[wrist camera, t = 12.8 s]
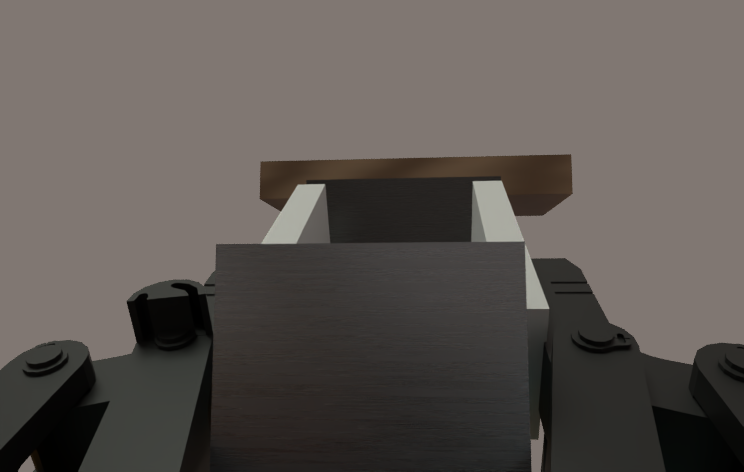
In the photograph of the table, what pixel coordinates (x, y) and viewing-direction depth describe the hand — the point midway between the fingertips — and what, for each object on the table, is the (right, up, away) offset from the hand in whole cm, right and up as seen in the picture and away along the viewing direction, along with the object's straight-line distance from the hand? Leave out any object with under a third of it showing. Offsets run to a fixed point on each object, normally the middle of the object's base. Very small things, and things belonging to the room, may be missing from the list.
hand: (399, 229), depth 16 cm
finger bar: (0, -4, -1) cm, 4 cm away
